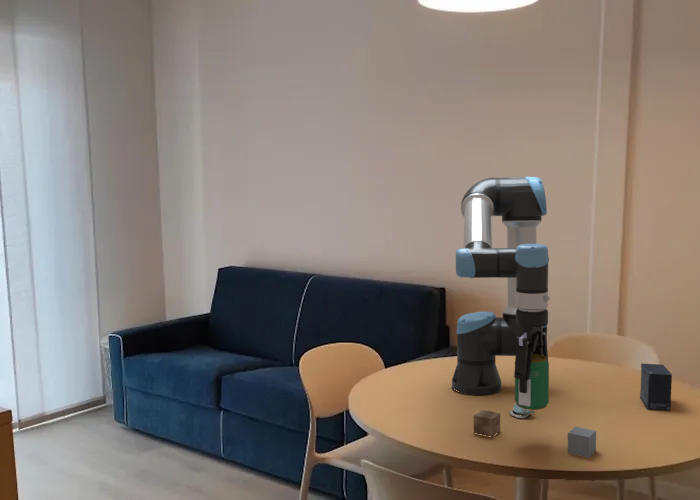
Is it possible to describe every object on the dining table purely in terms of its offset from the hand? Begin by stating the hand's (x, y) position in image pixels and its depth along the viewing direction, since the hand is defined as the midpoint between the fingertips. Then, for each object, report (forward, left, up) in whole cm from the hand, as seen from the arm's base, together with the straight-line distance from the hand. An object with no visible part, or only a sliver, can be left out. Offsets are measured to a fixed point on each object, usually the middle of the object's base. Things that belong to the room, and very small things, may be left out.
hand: (531, 399), depth 170 cm
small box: (+18, +45, -11) cm, 50 cm away
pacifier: (-10, +17, -11) cm, 22 cm away
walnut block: (-12, 0, -11) cm, 16 cm away
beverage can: (0, 0, -2) cm, 2 cm away
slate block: (+12, +1, -11) cm, 16 cm away
